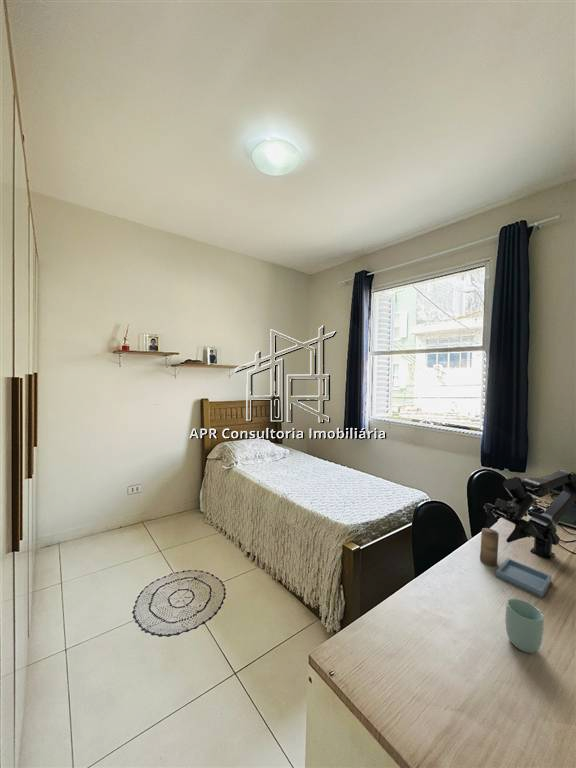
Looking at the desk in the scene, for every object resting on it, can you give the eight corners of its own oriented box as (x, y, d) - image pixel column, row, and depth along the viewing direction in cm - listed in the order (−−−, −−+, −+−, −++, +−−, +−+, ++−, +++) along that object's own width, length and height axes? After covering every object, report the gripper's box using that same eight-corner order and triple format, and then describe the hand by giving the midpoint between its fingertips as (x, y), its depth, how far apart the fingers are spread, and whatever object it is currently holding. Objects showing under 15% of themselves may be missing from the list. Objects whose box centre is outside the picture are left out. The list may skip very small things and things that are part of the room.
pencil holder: (483, 556, 122) (485, 526, 122) (499, 563, 118) (501, 532, 117) (477, 560, 119) (479, 530, 119) (493, 568, 115) (495, 536, 114)
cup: (527, 634, 85) (530, 599, 85) (548, 660, 77) (551, 622, 77) (498, 631, 86) (500, 596, 85) (516, 656, 78) (518, 619, 78)
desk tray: (507, 563, 118) (508, 557, 118) (551, 582, 108) (551, 576, 108) (496, 576, 110) (496, 570, 110) (541, 598, 100) (542, 591, 100)
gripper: (488, 483, 129) (465, 511, 126) (534, 502, 111) (508, 535, 108) (501, 501, 131) (479, 528, 129) (548, 521, 113) (523, 554, 111)
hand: (496, 535), depth 119 cm, fingers open, 9 cm apart
